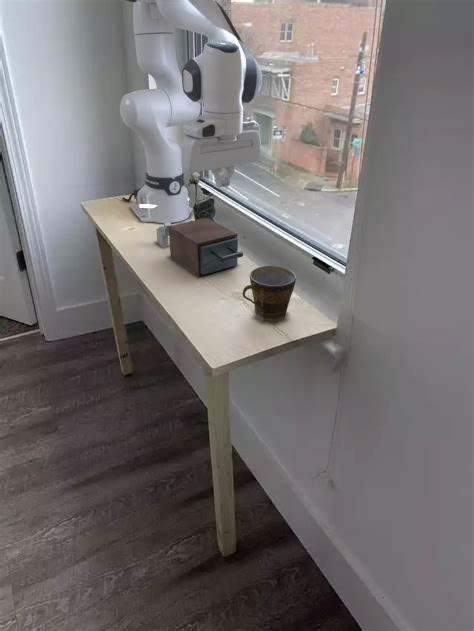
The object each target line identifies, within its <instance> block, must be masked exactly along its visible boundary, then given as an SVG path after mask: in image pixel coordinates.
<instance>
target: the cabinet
mask: <svg viewBox="0 0 474 631" xmlns="http://www.w3.org/2000/svg"><path fill="white" fill-rule="evenodd" d="M229 238H230V239H232V238H237V239H238V233H237V232H235V231H233V230H231V229H230V228H227V227H225V226H224V225H222V224H220V223H218V222H216V221H215V220H214V221H212V220H210V219H208V218H203V219H198V220H195V219H194V220H189V221H186V222H185V221H184V222H181V223H176V224H171V226H169V236H168V241H169V255H170V258H171V259H172V260H174V261H175V262H177V263H178V264H179V265H181V266H182V267H184V268H185V269H187V270H188V271H189V272H191V273H192V274H194V275H195V276H196V277H202V276H205V275H209V274H213V273H216V272H219V271H223V270H227V269H230V268H234V267H236V266H238V264H237V265H234V266H231V267H227V268H224V269H220V270H217V271H214V272H210V273H207V274H201V273H200V246H202V245H205V244H209V243H213V242H217V241H221V240H225V239H229Z"/></svg>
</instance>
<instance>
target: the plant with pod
mask: <svg viewBox="0 0 474 631" xmlns="http://www.w3.org/2000/svg"><path fill="white" fill-rule="evenodd" d="M200 179H201V174H200V172H195V173H191V172H190V174H189V177H188V185H187V186H188V187H190V186H191V185H194V189H195V192H194V193H195V201H194V202H193V208H192V213H193V216H194V217H193V219H194V220H198V219H203V218H208V219H210V220H212V221H214V222H215V220H214V219H213V218H215V216H216V209H215V208H216V207H215V197H214V196H211V195H208V194H206V195H203V196H202V197H198V193H197V192H198V184H199V182H200Z"/></svg>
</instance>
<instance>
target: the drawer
mask: <svg viewBox="0 0 474 631" xmlns="http://www.w3.org/2000/svg"><path fill="white" fill-rule="evenodd" d="M238 250H239V238H238V237H237V238H232V239H230V238H229V239H225V240H221V241H217V242H215V243H212V244H208V245H204V246H200V273H201V274H206V275H208V274H207V273H209V274H211V273H210V272H213V273H215V272H214V271H216V272H218V271H217V270H220V269H223V270H225V269H224V268H227V267H230V268H232V267H231V266H233V267H235V266H234V265H237V266H238V261H239V260H238V259H239V258H240V259H241V258H243V257H244V253H243V251H242V250H241V251H238ZM227 269H228V268H227ZM220 271H221V270H220Z"/></svg>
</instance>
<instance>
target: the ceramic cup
mask: <svg viewBox="0 0 474 631" xmlns="http://www.w3.org/2000/svg"><path fill="white" fill-rule="evenodd" d="M296 281H297V274H296V273H295V272H294V271H293V270H292V269H289V268H287V267H283V266H281V265H280V266H279V265H263V266H259V267H256V268H254V269H252V270H251V271H250V272H249V283H250V284H247V285H246V286H244V287H243V290H242V297H243V298H244V299H245V300H247V301H249V302H250V303H252V304H253V305H254V312H255V318H256V319H258V320H259V321H260V322H262V323H270V324H271V323H272V324H276V323H278V322H281V321H284V320H286V315H287V311H288V309H289V304H290V300H291V297H292V294H293V292H294V289H295V286H296ZM248 290H251V293H252V299H251V298H250V297H247V296H246V293H247V291H248Z"/></svg>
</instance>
